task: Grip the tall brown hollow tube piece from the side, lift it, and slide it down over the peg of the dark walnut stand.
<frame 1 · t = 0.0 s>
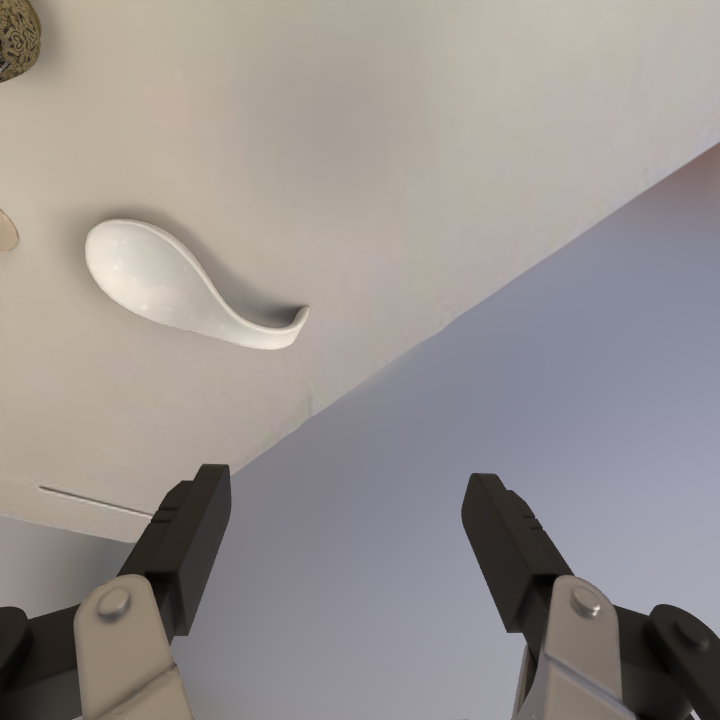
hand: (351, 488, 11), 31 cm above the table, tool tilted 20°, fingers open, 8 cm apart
cup: (19, 14, 26), on the table
spoon rest: (213, 279, 41), on the table
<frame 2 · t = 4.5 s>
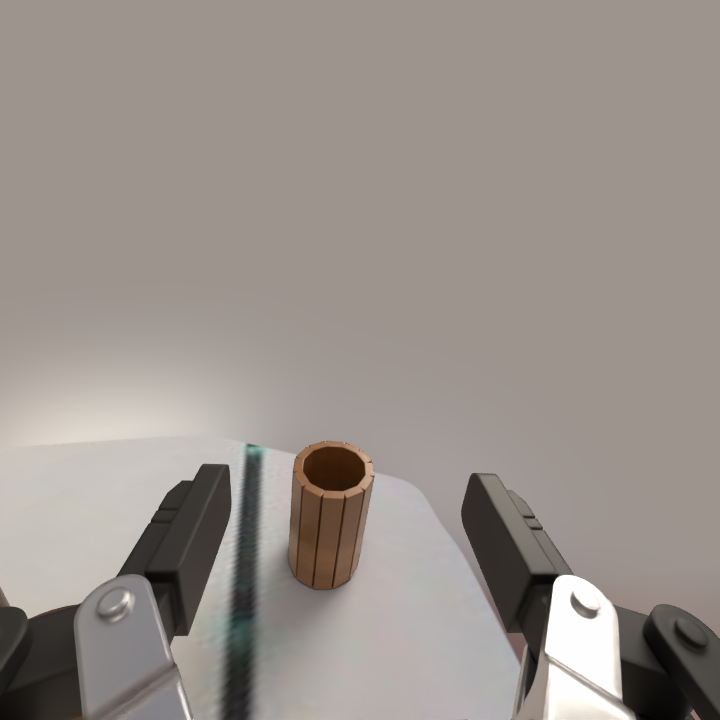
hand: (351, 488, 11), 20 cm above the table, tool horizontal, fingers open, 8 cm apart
brown hollow tube piece: (323, 554, 30), on the table
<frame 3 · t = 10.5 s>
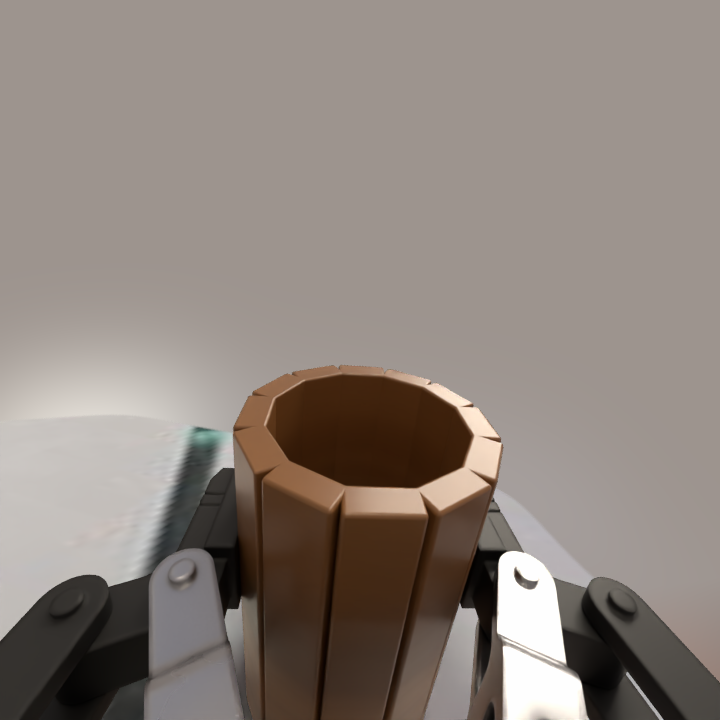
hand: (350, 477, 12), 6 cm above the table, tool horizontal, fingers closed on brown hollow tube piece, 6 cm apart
brown hollow tube piece: (339, 662, 12), on the table, touching gripper
when the fingers open (7 cm above the table, at t = 21.6 s): brown hollow tube piece stays where it is, resting on peg stand.
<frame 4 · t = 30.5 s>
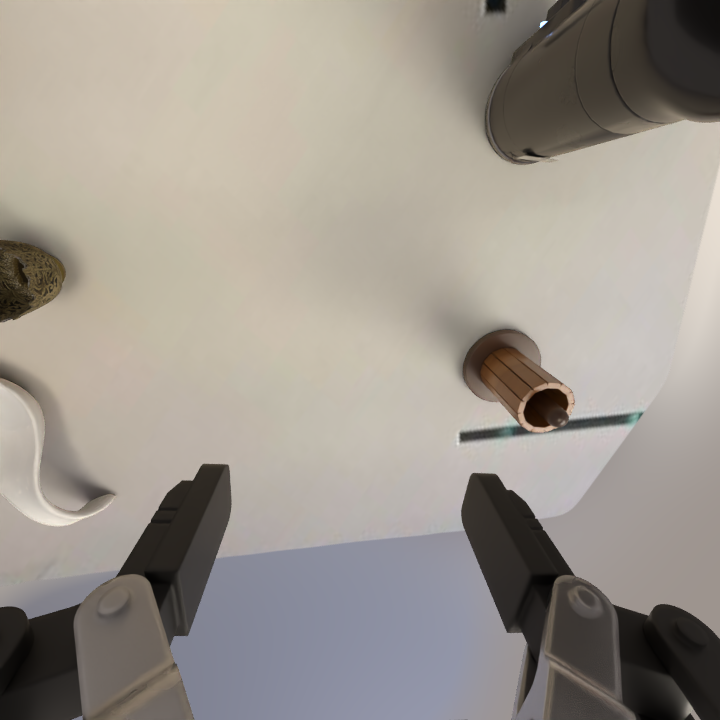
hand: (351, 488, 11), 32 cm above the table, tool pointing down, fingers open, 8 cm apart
brown hollow tube piece: (503, 369, 45), point 1 cm above the table, touching peg stand
peg stand: (499, 365, 46), on the table
cup: (52, 269, 38), on the table
spoon rest: (48, 439, 46), on the table
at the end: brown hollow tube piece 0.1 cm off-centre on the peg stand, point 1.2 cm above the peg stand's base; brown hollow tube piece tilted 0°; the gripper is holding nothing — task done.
